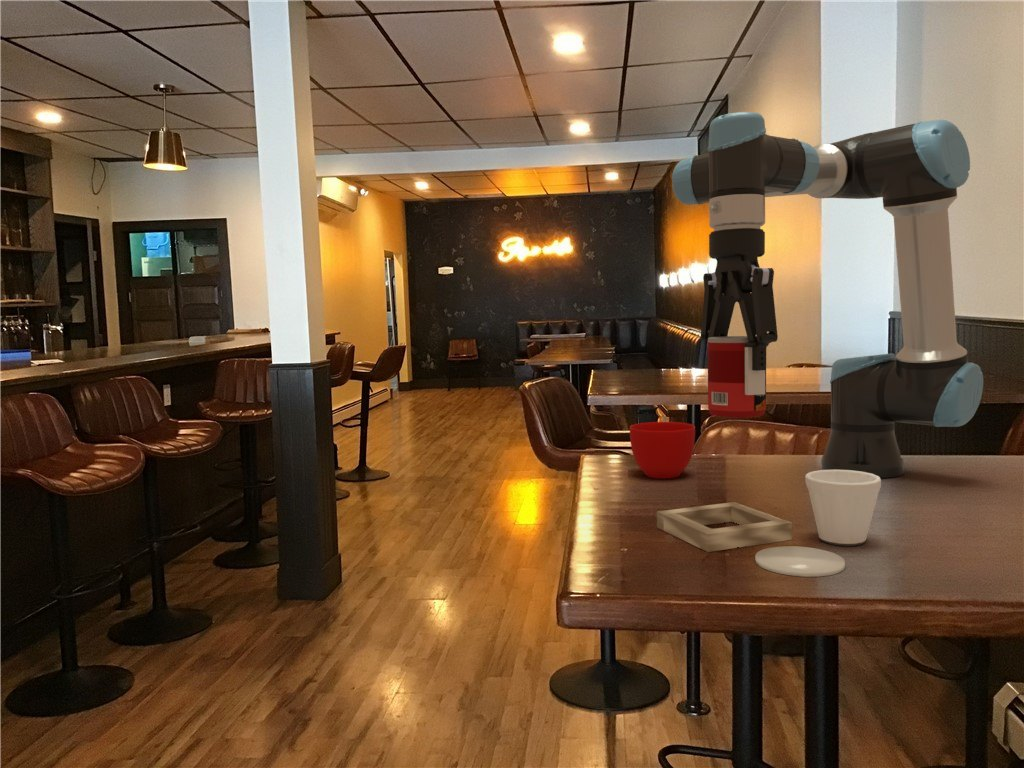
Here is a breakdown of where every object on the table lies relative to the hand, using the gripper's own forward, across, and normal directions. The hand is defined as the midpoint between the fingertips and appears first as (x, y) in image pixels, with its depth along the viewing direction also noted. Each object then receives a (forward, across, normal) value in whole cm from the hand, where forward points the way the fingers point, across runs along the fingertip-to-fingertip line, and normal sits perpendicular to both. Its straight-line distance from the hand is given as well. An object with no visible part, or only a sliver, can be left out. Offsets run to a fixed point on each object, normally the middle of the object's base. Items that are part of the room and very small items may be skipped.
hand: (737, 391), depth 114 cm
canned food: (+3, 0, 0) cm, 3 cm away
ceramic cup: (+22, -46, +14) cm, 53 cm away
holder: (+22, -4, 0) cm, 22 cm away
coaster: (+22, +12, +1) cm, 25 cm away
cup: (+22, +6, +13) cm, 26 cm away
